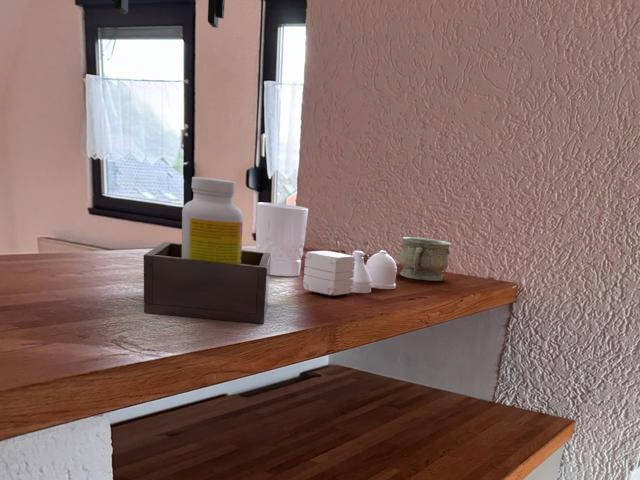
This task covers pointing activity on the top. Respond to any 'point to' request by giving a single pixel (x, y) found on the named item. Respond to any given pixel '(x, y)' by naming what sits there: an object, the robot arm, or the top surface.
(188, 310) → the box
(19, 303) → the top surface
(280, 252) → the white cup
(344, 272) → the container set
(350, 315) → the top surface
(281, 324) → the top surface
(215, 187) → the supplement bottle
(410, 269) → the vessel
